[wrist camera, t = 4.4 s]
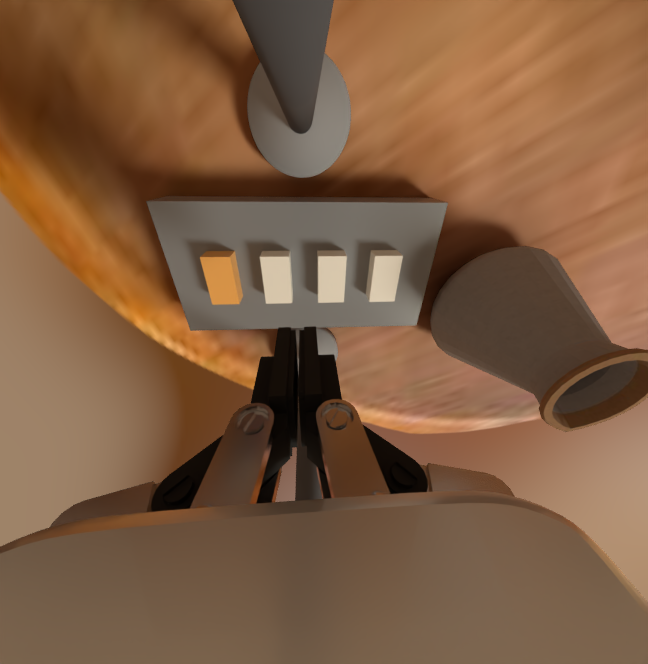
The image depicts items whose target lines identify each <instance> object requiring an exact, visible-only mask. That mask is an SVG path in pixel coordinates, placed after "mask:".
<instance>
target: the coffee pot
mask: <svg viewBox="0 0 648 664" xmlns="http://www.w3.org/2000/svg"><path fill="white" fill-rule="evenodd" d="M430 322H431V331H432V336H433V338H434V340H435V342H436V344H437V345H438V347H439V348H441V349H442V350H443V351H444V352H445V353H446V354H448V355H449V356H452V357H454V358H456V359H458V360H460V361H463V362H465V363H467V364H469V365H471V366H474V367H476V368H478V369H480V370H482V371H485V372H487V373H489V374H491V375H493V376H496V377H498V378H500V379H502V380H504V381H506V382H509V383H511V384H513V385H515V386H517V387H520V388H522V389H524V390H526V391H528V392H531V393H533V394H534V395H535V397H536V399H537V400H538V402H539V404H540V407H539V411H540V415H541V417H542V419H543V420H544V421H545V422H546V423H547V424H549V425H551V426H553V427H555V428H556V429H559V430H562V431H565V432H568V431H573V430H577V429H581V428H585V427H589V426H592V425H595V424H598V423H601V422H604V421H607V420H610V419H612V418H614V417H616V416H618V415H621V414H622V413H625V412H626V411H628V410H630V409H631V408H633V407H635V406H637V405H638V404H640V403H641V402H642V401H644V400H645V399H646V398H647V397H648V350H644V349H637V348H636V349H627V348H624V347H621V346H619V345H616V344H613V343H611V341H610V340H609V338H608V336H607V335H606V333H605V332H604V330H603V329H602V327H601V326H600V324H599V323H598V321H597V319H596V318H595V316H594V315H593V313H592V312H591V310H590V309H589V307H588V306H587V304H586V303H585V301H584V299H583V298H582V296H581V295H580V293H579V292H578V290H577V289H576V287H575V286H574V284H573V282H572V281H571V279H570V278H569V276H568V275H567V273H566V272H565V270H564V269H563V267H562V265H561V264H560V262H559V261H558V259H556V258H555V257H554V256H552V255H551V254H549V253H548V252H546V251H544V250H542V249H537V248H533V247H528V246H520V247H509V248H502V249H497V250H494V251H491V252H488V253H485V254H482V255H480V256H478V257H476V258H475V259H473V260H471V261H470V262H468V263H466V264H464V265H463V266H462V267H461V268H460V269H459V270H457V271H456V272H455V273H454V274H453V275H452V276H450V278H449V279H448V280H447V281H446V283H445V284H444V285H443V287H442V288H441V289H440V291H439V293H438V295H437V297H436V299H435V301H434V303H433V307H432V312H431V320H430Z"/></svg>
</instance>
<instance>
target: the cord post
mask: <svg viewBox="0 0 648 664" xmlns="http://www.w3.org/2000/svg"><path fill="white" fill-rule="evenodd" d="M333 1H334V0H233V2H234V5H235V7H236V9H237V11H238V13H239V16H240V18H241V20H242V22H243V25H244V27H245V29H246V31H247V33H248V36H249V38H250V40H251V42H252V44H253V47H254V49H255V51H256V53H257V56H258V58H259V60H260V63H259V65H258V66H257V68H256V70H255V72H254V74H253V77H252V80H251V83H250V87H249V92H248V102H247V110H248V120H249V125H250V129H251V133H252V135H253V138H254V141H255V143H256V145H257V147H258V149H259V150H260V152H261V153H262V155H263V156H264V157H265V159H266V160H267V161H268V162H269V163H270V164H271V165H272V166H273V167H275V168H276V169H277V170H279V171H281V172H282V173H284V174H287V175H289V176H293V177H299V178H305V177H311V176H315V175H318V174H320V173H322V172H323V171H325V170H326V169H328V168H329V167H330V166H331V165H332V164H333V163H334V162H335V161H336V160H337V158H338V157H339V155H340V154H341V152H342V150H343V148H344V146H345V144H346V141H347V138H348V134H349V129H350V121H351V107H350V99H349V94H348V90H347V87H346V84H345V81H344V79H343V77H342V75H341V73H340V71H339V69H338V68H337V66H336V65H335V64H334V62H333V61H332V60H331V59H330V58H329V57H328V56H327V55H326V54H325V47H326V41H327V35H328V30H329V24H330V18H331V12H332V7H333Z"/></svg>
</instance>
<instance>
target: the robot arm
mask: <svg viewBox="0 0 648 664" xmlns="http://www.w3.org/2000/svg"><path fill="white" fill-rule="evenodd" d="M298 399H299V415H300V430H301V445H302V447H307V458H308V459H309V460H310V461H311V462H313V463H314V464H315V465H316V466H317V474H318V479H319V484H320V490H321V495H322V499H314V500H300V501H287V502H275V500H276V496H277V491H278V487H279V482H280V477H281V473H282V466H283V465H284V464H285V463H286V462H287V461H288V460H289V459H290V456H292V447H297V442H298ZM0 664H648V602H647V601H646V600H645V598H644V597H643V596H642V595H641V594H640V592H639V591H638V590H637V589H636V588H635V586H634V585H633V584H632V583H631V582H630V580H629V579H628V578H627V577H626V576H625V575H624V573H623V572H622V571H621V570H620V569H619V568H618V567H617V565H615V563H614V562H613V561H612V560H611V559H610V558H609V556H608V555H607V554H606V553H605V552H604V551H603V550H602V549H601V548H600V547H599V546H598V545H597V544H596V543H595V542H594V541H593V540H592V539H591V538H590V537H589V536H588V535H587V534H586V533H585V532H584V531H582V530H581V529H580V528H579V527H577V526H576V525H575V524H574V523H573V522H571V521H569V520H568V519H566V518H565V517H563V516H561V515H560V514H557V513H555V512H553V511H551V510H549V509H547V508H545V507H542V506H540V505H538V504H535V503H532V502H530V501H527V500H524V499H521V498H517V497H515V496H514V495H513V493H512V491H511V489H510V488H509V487H508V486H507V485H506V484H505V483H504V482H503V481H502V480H500V479H499V478H497V477H495V476H494V475H490V474H488V473H483V472H477V471H471V470H466V469H460V468H454V467H448V466H442V465H436V464H431V463H428V464H427V466H425V465H419V464H418V463H417V462H416V461H415V460H414V459H412V458H411V457H409V456H408V455H406V454H405V453H404V452H402V451H401V450H399V449H398V448H396V447H395V446H393V445H392V444H390V443H389V442H387V441H386V440H384V439H383V438H382V437H380V436H379V435H377V434H376V433H374V432H373V431H371V430H370V429H368V428H367V427H365V426H364V425H362V422H361V420H360V417H359V415H358V413H357V411H356V409H355V407H354V406H353V405H351V404H350V403H349V402H347V401H344V400H342V398H341V392H340V386H339V380H338V374H337V367H336V361H335V356H334V354H329V355H318V343H317V331H316V326H311V327H304V330H299V376H298V359H297V342H296V330H291V327H279V328H278V333H277V340H276V347H275V354H274V356H272V357H261V359H260V363H259V367H258V372H257V377H256V381H255V386H254V390H253V395H252V401H251V404H247V405H245V406H243V407H241V408H239V409H238V410H237V411H236V412H235V413H234V414H233V416H232V418H231V419H230V422H229V424H228V426H227V428H226V430H225V433H224V435H222V436H221V437H220V438H218V439H217V440H216V441H214V442H213V443H212V444H210V445H209V446H208V447H206V448H205V449H203V450H202V451H201V452H200V453H198V454H197V455H195V456H194V457H193V458H191V459H190V460H189V461H187V462H186V463H185V464H183V465H182V466H181V467H179V468H178V469H177V470H175V471H174V472H173V473H171V474H170V475H169V476H168V477H167V478H165V479H164V480H163V481H162V482H160V483H157V484H155V482H154V481H152V482H148V483H145V484H141V485H138V486H134V487H131V488H127V489H123V490H120V491H117V492H113V493H109V494H106V495H103V496H99V497H95V498H92V499H88V500H85V501H82V502H80V503H77V504H75V505H73V506H72V507H70V508H69V509H67V510H66V511H64V512H63V513H62V514H61V515H60V516H59V517H58V518H57V519H56V520H55V521H54V522H53V523H52V524H51V526H50V527H49V528H46V529H43V530H40V531H37V532H35V533H32V534H29V535H27V536H24V537H21V538H19V539H16V540H14V541H12V542H10V543H7V544H5V545H3V546H0Z"/></svg>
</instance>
